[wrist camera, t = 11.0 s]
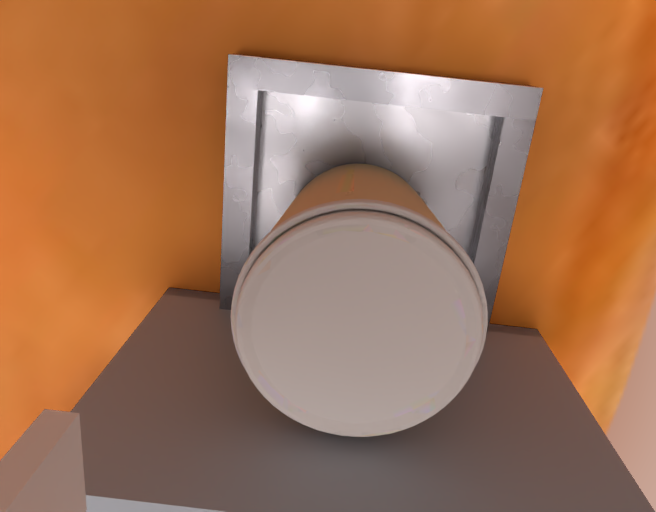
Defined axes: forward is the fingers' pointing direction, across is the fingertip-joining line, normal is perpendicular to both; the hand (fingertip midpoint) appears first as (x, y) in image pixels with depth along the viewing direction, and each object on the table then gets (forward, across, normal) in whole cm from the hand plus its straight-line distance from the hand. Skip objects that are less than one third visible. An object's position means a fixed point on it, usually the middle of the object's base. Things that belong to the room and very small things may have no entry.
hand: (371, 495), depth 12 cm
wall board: (+20, 0, -8) cm, 21 cm away
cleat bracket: (+20, 0, +1) cm, 20 cm away
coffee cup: (+20, 0, 0) cm, 20 cm away
